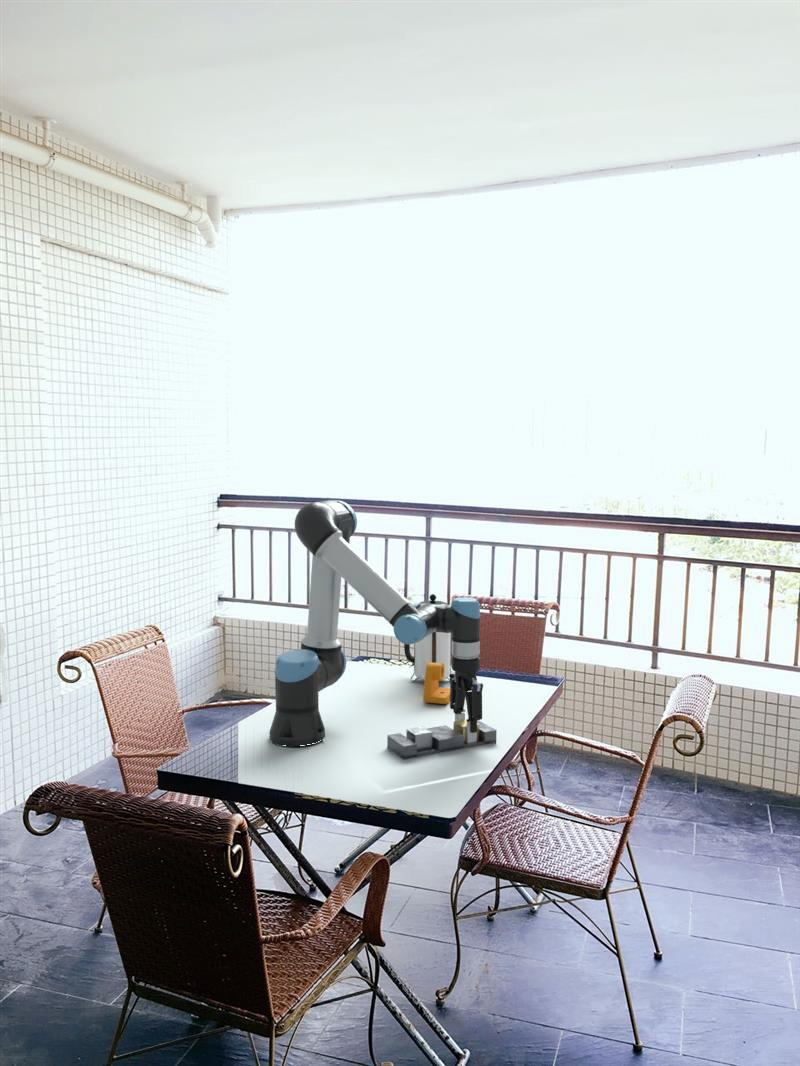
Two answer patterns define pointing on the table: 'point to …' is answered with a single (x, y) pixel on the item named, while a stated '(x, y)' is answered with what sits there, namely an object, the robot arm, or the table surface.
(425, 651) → the coffee press
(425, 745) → the brushed aluminum cube
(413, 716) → the table surface
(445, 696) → the bracket
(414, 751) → the grey stepped block holder
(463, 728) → the sand colored cube
